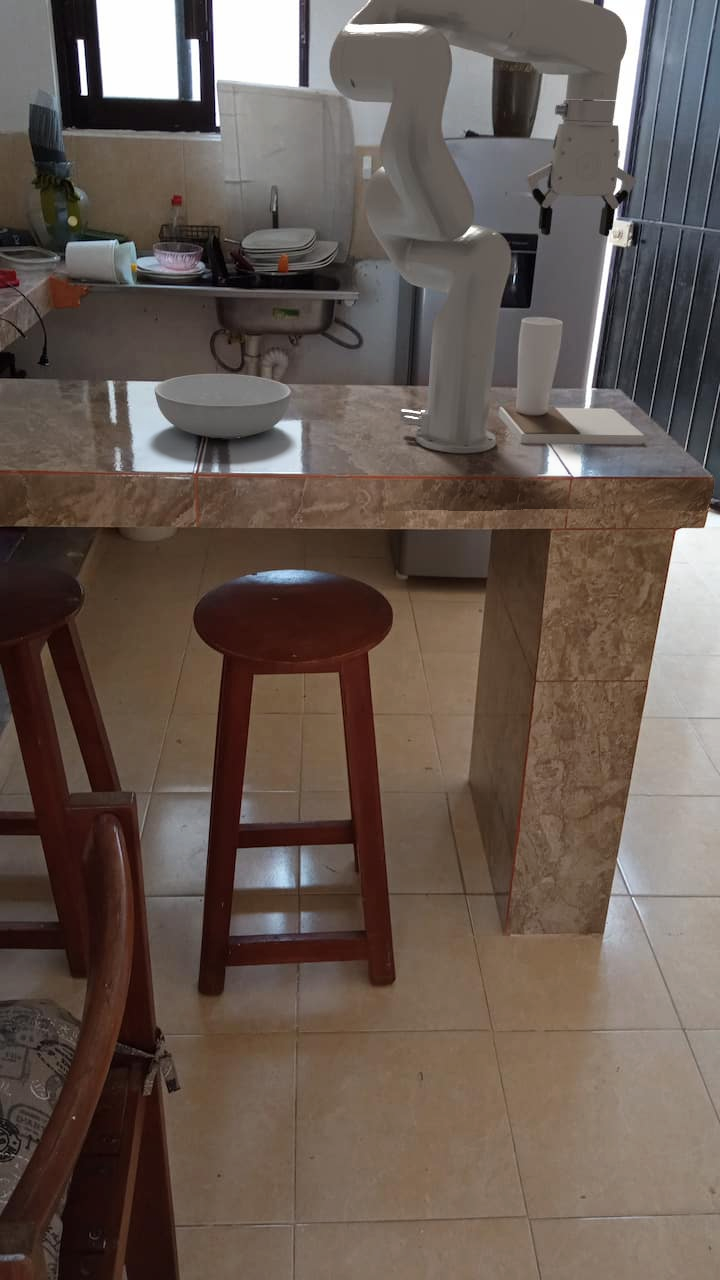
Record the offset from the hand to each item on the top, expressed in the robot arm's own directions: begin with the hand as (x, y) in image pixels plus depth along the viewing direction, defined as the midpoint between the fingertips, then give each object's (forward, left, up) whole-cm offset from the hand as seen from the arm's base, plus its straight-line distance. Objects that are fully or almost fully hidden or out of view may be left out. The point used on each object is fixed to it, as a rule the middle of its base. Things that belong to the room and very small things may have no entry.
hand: (574, 234), depth 161 cm
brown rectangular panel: (0, -10, -29) cm, 31 cm away
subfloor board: (+4, -8, -29) cm, 31 cm away
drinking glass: (-3, -7, -28) cm, 29 cm away
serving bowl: (-46, -34, -30) cm, 65 cm away
